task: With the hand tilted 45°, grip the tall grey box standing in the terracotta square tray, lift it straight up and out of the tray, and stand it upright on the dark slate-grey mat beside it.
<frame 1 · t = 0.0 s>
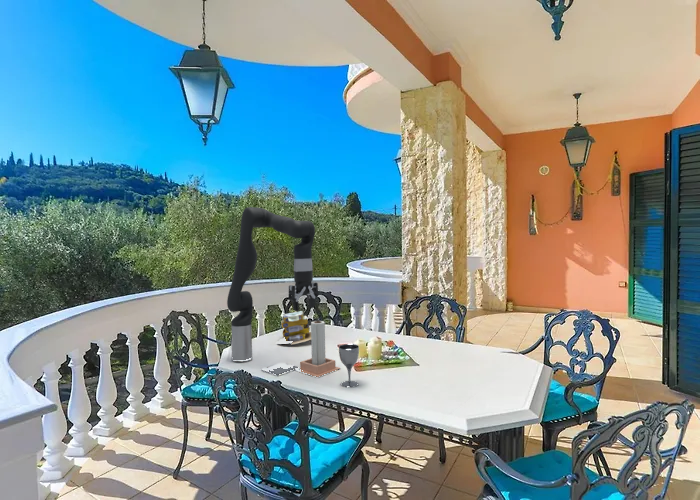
hand: (304, 309, 161), 29 cm above the table, tool pointing down, fingers open, 8 cm apart
wine glass: (349, 384, 156), on the table
slate mat: (279, 369, 176), on the table
tall grey box: (318, 370, 174), resting in terracotta square tray
terracotta square tray: (318, 370, 174), on the table
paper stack: (297, 341, 225), on the table
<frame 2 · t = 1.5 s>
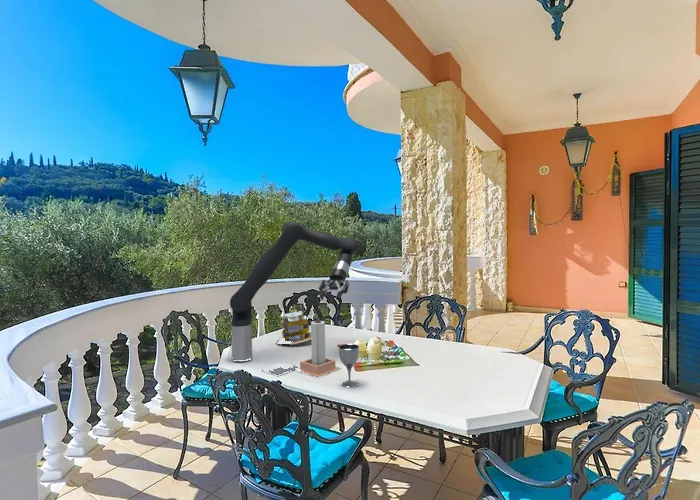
hand: (329, 299, 183), 30 cm above the table, tool tilted 45°, fingers open, 8 cm apart
nothing on the table moved.
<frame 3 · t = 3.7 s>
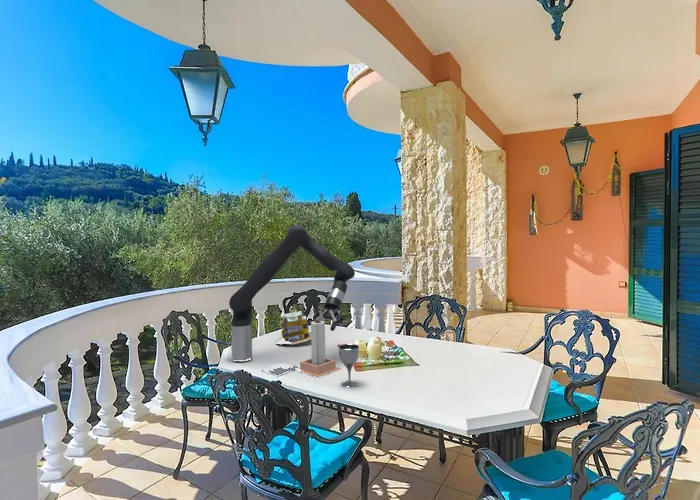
hand: (323, 329, 179), 17 cm above the table, tool tilted 45°, fingers open, 8 cm apart
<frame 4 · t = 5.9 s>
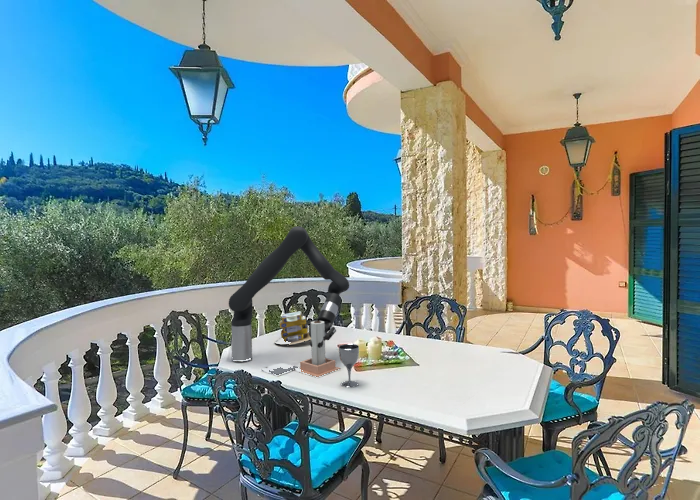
hand: (315, 346, 172), 11 cm above the table, tool tilted 45°, fingers closed on tall grey box, 3 cm apart
tall grey box: (318, 370, 174), resting in terracotta square tray, touching gripper
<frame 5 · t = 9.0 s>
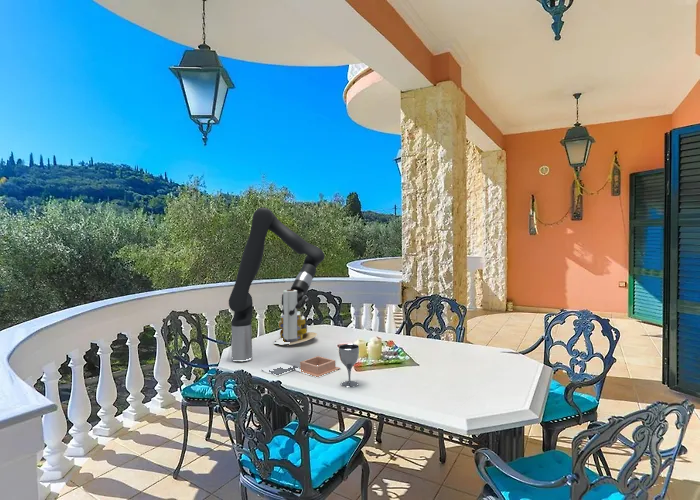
hand: (286, 314, 173), 25 cm above the table, tool tilted 45°, fingers closed on tall grey box, 3 cm apart
tall grey box: (289, 338, 175), point 14 cm above the table, touching gripper
when the fingers open (13 cm above the table, at t = 12.1 s): tall grey box drops 2 cm, resting on slate mat.
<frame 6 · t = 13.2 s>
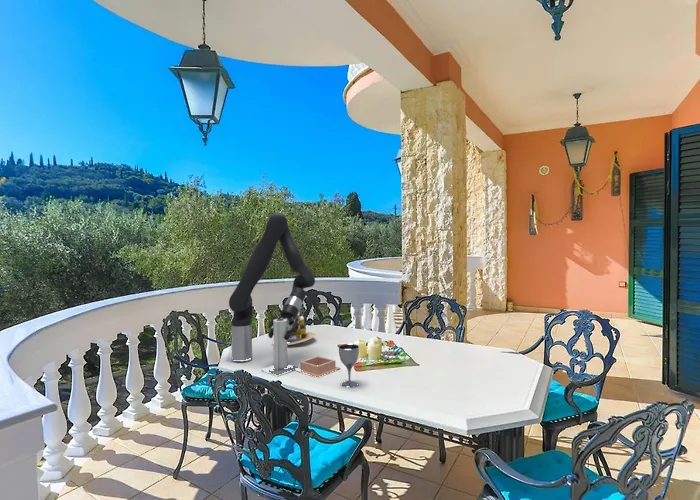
hand: (277, 338, 174), 14 cm above the table, tool tilted 45°, fingers open, 8 cm apart
tall grey box: (279, 368, 176), point 1 cm above the table, touching slate mat
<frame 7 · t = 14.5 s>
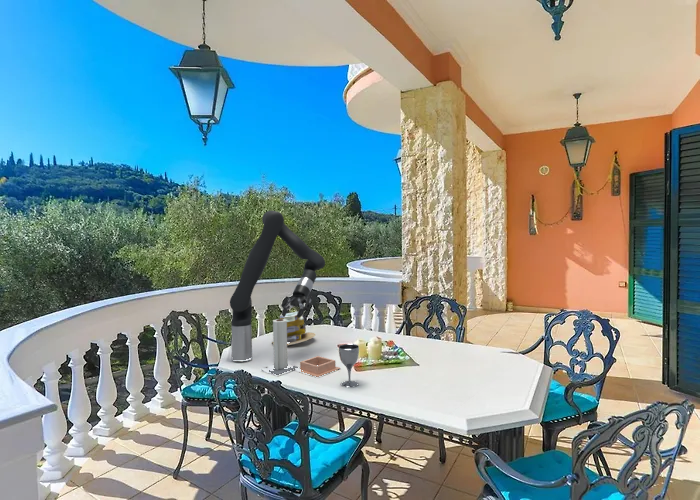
hand: (290, 316, 183), 22 cm above the table, tool tilted 45°, fingers open, 8 cm apart
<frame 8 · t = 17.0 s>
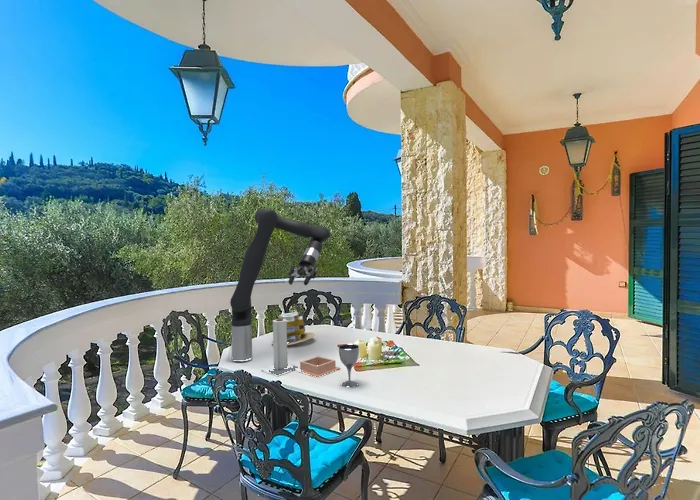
hand: (297, 284, 188), 37 cm above the table, tool tilted 45°, fingers open, 8 cm apart
at the end: tall grey box inside the target area on the slate mat (0.3 cm from its centre), point 0.6 cm above the slate mat's base; tall grey box tilted 0°; the gripper is holding nothing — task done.
